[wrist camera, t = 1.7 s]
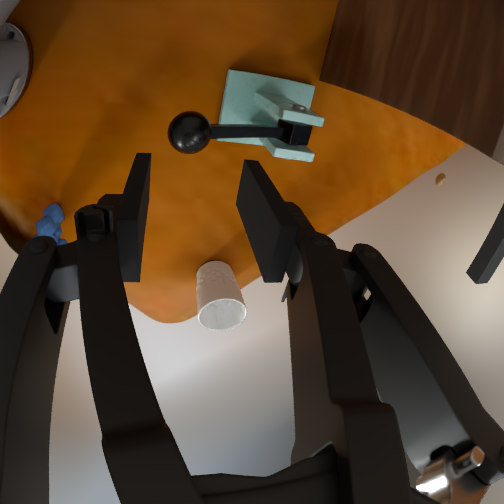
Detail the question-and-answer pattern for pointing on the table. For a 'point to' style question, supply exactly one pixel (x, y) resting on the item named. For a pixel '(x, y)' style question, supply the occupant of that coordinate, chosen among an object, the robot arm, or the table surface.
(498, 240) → the spatula
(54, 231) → the grapes
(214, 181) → the table surface
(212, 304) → the white cup
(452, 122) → the shelf block
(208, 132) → the black knobbed rod
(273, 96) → the mounting bracket
